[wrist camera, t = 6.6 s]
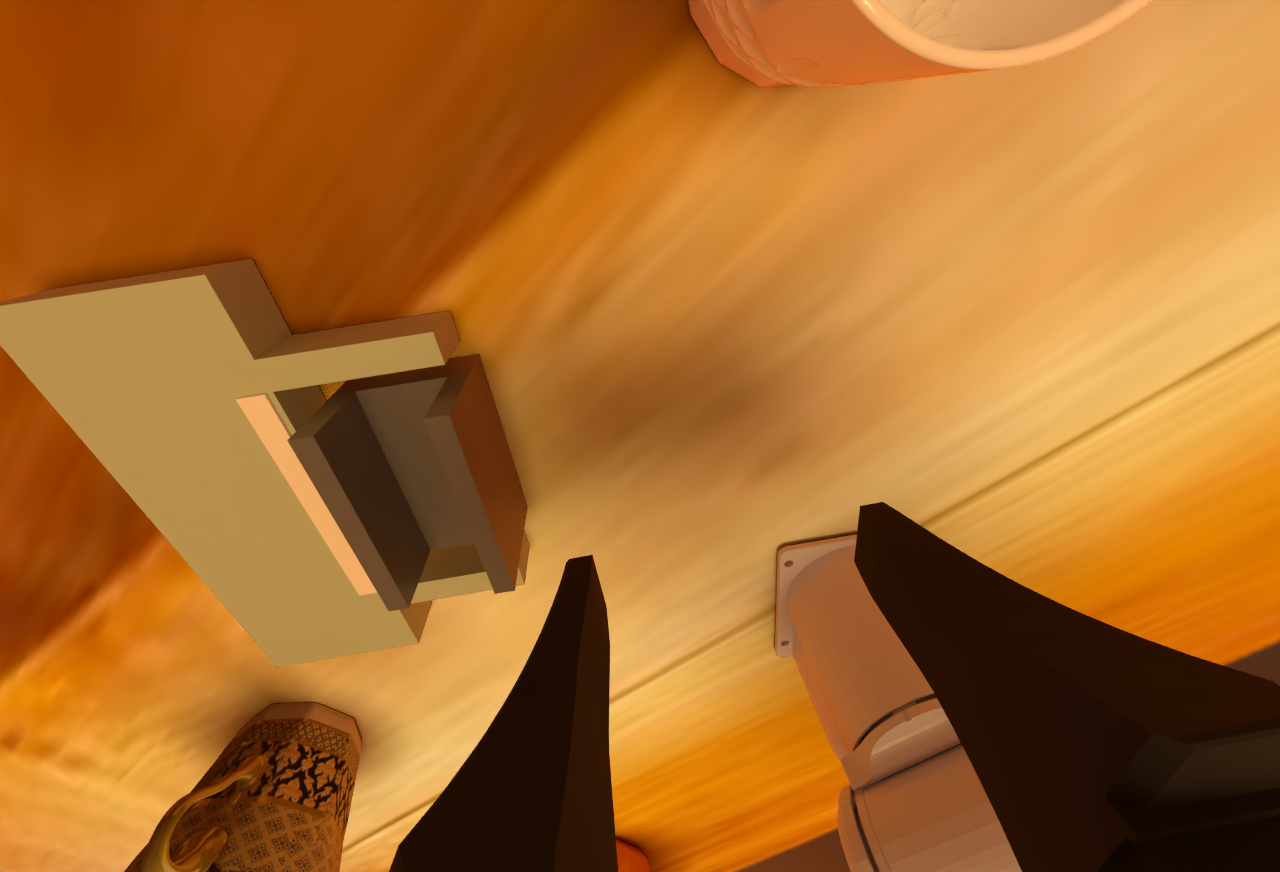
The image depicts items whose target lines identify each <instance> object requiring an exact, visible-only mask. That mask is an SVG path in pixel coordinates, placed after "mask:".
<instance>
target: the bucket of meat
mask: <svg viewBox="0 0 1280 872" xmlns="http://www.w3.org/2000/svg"><path fill="white" fill-rule="evenodd" d="M616 849H617V860H618V872H651V870H650V866H649V863H648V859H647V858H646V857H645V856H644V855H643V854H642V853H641V852H640V851H639V850H638V849H637V848H636V847H634V846H632V845H630V844H627V843H625V842H623V841H621V840H618V839H616Z"/></svg>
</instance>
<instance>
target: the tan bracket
mask: <svg viewBox="0 0 1280 872" xmlns="http://www.w3.org/2000/svg"><path fill="white" fill-rule="evenodd" d="M459 342H460V338H459V335H458V332H457V329H456V326H455V323H454V320H453V317H452V314H451V311H444V312H438V313H431V314H425V315H418V316H412V317H406V318H399V319H393V320H386V321H380V322H373V323H367V324H361V325H354V326H348V327H341V328H335V329H328V330H322V331H316V332H309V333H303V334H296V335H292V334H291V332H290V330H289V328H288V326H287V324H286V322H285V320H284V318H283V316H282V314H281V313H280V311H279V309H278V307H277V305H276V303H275V301H274V299H273V297H272V295H271V293H270V291H269V290H268V288H267V286H266V284H265V282H264V280H263V278H262V276H261V274H260V272H259V270H258V268H257V267H256V265H255V263H254V261H253V259H246V260H239V261H233V262H226V263H220V264H213V265H206V266H200V267H193V268H187V269H180V270H173V271H167V272H160V273H154V274H147V275H140V276H134V277H127V278H121V279H114V280H108V281H101V282H94V283H88V284H81V285H75V286H68V287H61V288H55V289H48V290H45V291H41V292H37V293H33V294H30V295H26V296H22V297H18V298H15V299H11V300H7V301H4V302H0V345H1V346H2V348H3V349H4V350H5V351H6V352H7V353H8V355H9V356H10V357H11V358H12V359H13V360H14V362H15V363H16V364H17V365H18V366H19V367H20V369H21V370H22V371H23V372H24V373H25V374H26V376H27V377H28V378H29V379H30V380H31V381H32V383H33V384H34V385H35V386H36V387H37V388H38V390H39V391H40V392H41V393H42V394H43V395H44V397H45V398H46V399H47V400H48V401H49V402H50V404H51V405H52V406H53V407H54V408H55V409H56V411H57V412H58V413H59V414H60V415H61V416H62V418H63V419H64V420H65V421H66V422H67V423H68V425H69V426H70V427H71V428H72V429H73V430H74V431H75V433H76V434H77V435H78V436H79V437H80V438H81V440H82V441H83V442H84V443H85V444H86V445H87V447H88V448H89V449H90V450H91V451H92V452H93V454H94V455H95V456H96V457H97V458H98V459H99V461H100V462H101V463H102V464H103V465H104V466H105V468H106V469H107V470H108V471H109V472H110V473H111V475H112V476H113V477H114V478H115V479H116V480H117V482H118V483H119V484H120V485H121V486H122V487H123V489H124V490H125V491H126V492H127V493H128V494H129V496H130V497H131V498H132V499H133V500H134V501H135V503H136V504H137V505H138V506H139V507H140V508H141V510H142V511H143V512H144V513H145V514H146V515H147V517H148V518H149V519H150V520H151V521H152V522H153V523H154V525H155V526H156V527H157V528H158V529H159V530H160V532H161V533H162V534H163V535H164V536H165V537H166V539H167V540H168V541H169V542H170V543H171V544H172V546H173V547H174V548H175V549H176V550H177V551H178V553H179V554H180V555H181V556H182V557H183V558H184V560H185V561H186V562H187V563H188V564H189V565H190V567H191V568H192V569H193V570H194V571H195V572H196V574H197V575H198V576H199V577H200V578H201V579H202V581H203V582H204V583H205V584H206V585H207V586H208V588H209V589H210V590H211V591H212V592H213V593H214V595H215V596H216V597H217V598H218V599H219V600H220V602H221V603H222V604H223V605H224V606H225V607H226V608H227V610H228V611H229V612H230V613H231V614H232V615H233V617H234V618H235V619H236V620H237V621H238V622H239V624H240V625H241V626H242V627H243V628H244V629H245V631H246V632H247V633H248V634H249V635H250V636H251V638H252V639H253V640H254V641H255V642H256V643H257V645H258V646H259V647H260V648H261V649H262V650H263V652H264V653H265V654H266V655H267V656H268V657H269V659H270V660H271V661H272V662H273V663H274V664H275V666H276V667H277V668H279V667H285V666H290V665H296V664H302V663H308V662H314V661H320V660H325V659H331V658H337V657H343V656H349V655H355V654H360V653H366V652H372V651H378V650H384V649H389V648H395V647H401V646H407V645H413V644H419V642H420V638H421V635H422V632H423V629H424V626H425V623H426V620H427V617H428V614H429V611H430V608H431V605H432V602H431V600H436V599H442V598H448V597H453V596H459V595H465V594H471V593H477V592H483V591H489V590H493V588H492V586H491V583H490V581H489V578H488V576H487V573H486V571H485V569H484V566H483V564H482V561H481V559H480V556H479V554H478V551H477V549H476V547H475V544H474V543H473V544H467V545H460V546H454V547H448V548H442V549H436V550H431V551H430V553H429V556H428V559H427V561H426V564H425V567H424V569H423V572H422V575H421V577H420V580H419V583H418V585H417V588H416V591H415V593H414V596H413V599H412V601H411V604H410V607H409V608H406V609H401V610H395V611H388V609H387V608H386V606H385V604H384V603H383V601H382V599H381V598H380V596H379V594H378V593H377V591H376V589H375V588H374V586H373V584H372V582H371V581H370V579H369V577H368V576H367V574H366V572H365V571H364V569H363V567H362V566H361V564H360V562H359V561H358V559H357V557H356V556H355V554H354V552H353V550H352V549H351V547H350V545H349V544H348V542H347V540H346V539H345V537H344V535H343V534H342V532H341V530H340V529H339V527H338V525H337V523H336V522H335V520H334V518H333V517H332V515H331V513H330V512H329V510H328V508H327V507H326V505H325V503H324V502H323V500H322V498H321V497H320V495H319V493H318V491H317V490H316V488H315V486H314V485H313V483H312V481H311V480H310V478H309V476H308V475H307V473H306V471H305V470H304V468H303V466H302V465H301V463H300V461H299V459H298V458H297V456H296V454H295V453H294V451H293V449H292V448H291V446H290V444H289V443H288V441H287V440H288V439H289V438H290V437H291V436H292V435H293V434H294V433H295V432H296V431H297V430H298V429H299V428H300V427H301V426H302V425H303V424H304V423H305V422H306V421H307V420H308V419H309V418H310V417H311V416H312V415H313V414H314V413H315V412H316V411H317V410H318V409H319V408H320V407H321V406H322V405H323V404H324V403H325V402H326V399H325V397H324V395H323V393H322V391H321V389H320V387H319V385H320V384H326V383H333V382H339V381H345V380H352V379H358V378H364V377H371V376H377V375H383V374H390V373H396V372H402V371H409V370H415V369H421V368H427V367H434V366H440V365H445V364H446V362H447V361H448V359H449V358H450V356H451V354H452V353H453V351H454V350H455V348H456V346H457V345H458V343H459ZM528 555H529V544H528V541H527V538H526V535H525V532H524V533H523V540H522V547H521V553H520V560H519V567H518V573H517V580H516V586H518V585H524V584H525V578H526V570H527V562H528Z"/></svg>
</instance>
